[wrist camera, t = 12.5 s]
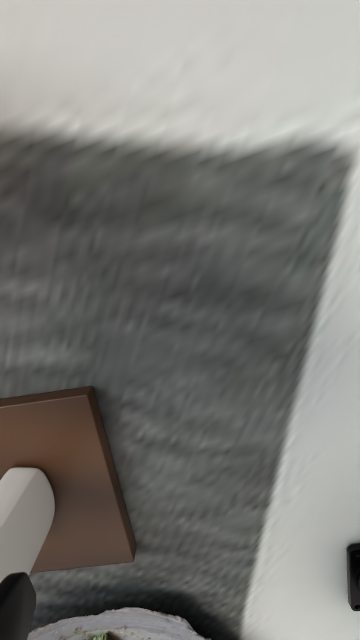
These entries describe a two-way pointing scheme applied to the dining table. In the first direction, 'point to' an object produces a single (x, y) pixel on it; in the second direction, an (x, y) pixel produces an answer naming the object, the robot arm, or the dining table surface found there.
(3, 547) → the eye dropper bottle
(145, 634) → the food plate
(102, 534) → the walnut board
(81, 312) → the dining table surface
